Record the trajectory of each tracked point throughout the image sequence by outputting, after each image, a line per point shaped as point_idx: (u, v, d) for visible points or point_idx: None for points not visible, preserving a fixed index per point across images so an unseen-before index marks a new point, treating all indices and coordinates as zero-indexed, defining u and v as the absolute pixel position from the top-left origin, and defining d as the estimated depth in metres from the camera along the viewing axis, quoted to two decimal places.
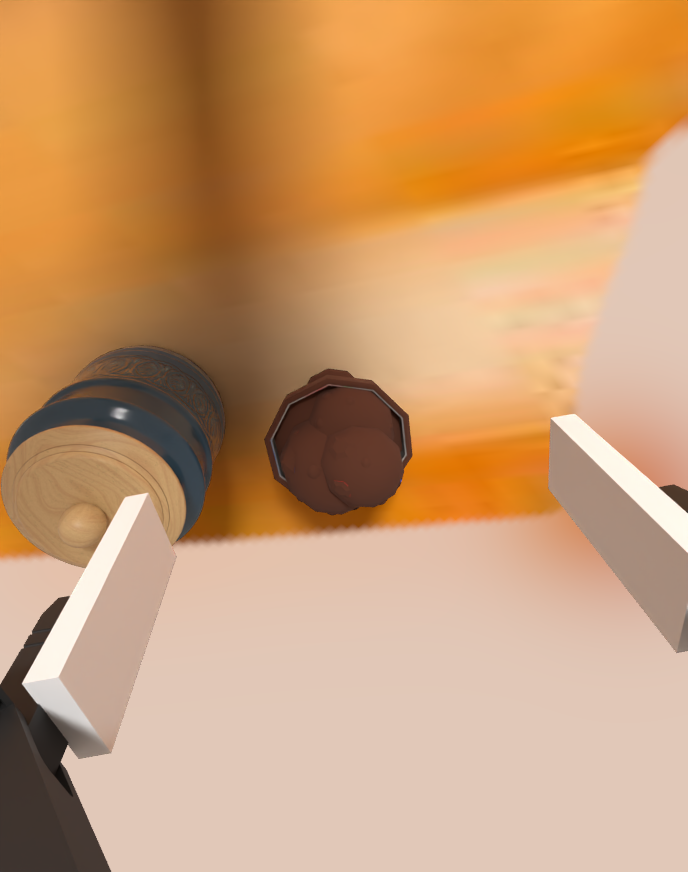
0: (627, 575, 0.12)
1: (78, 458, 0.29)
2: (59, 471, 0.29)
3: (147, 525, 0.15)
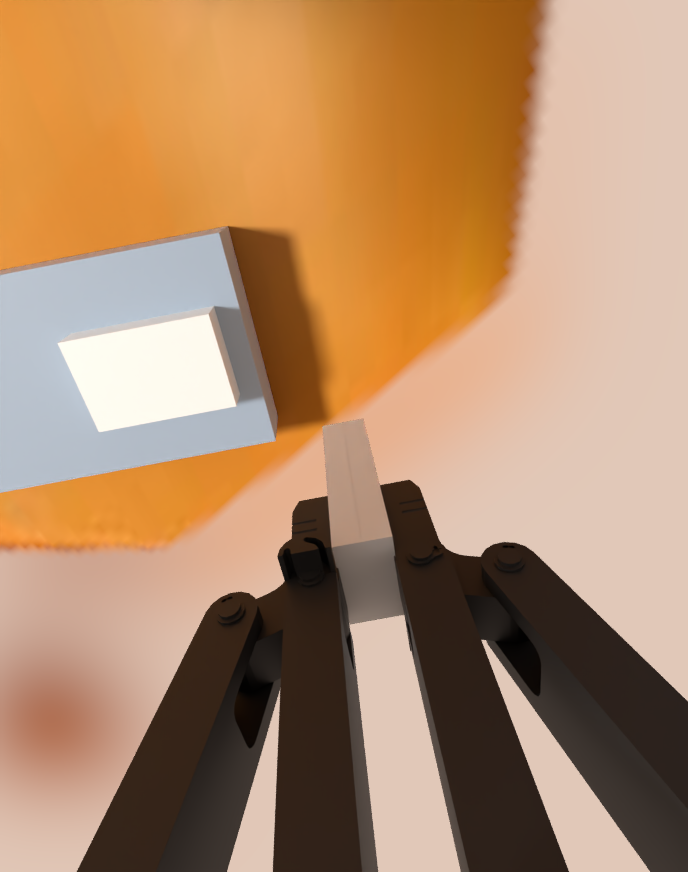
0: None
1: None
2: None
3: None
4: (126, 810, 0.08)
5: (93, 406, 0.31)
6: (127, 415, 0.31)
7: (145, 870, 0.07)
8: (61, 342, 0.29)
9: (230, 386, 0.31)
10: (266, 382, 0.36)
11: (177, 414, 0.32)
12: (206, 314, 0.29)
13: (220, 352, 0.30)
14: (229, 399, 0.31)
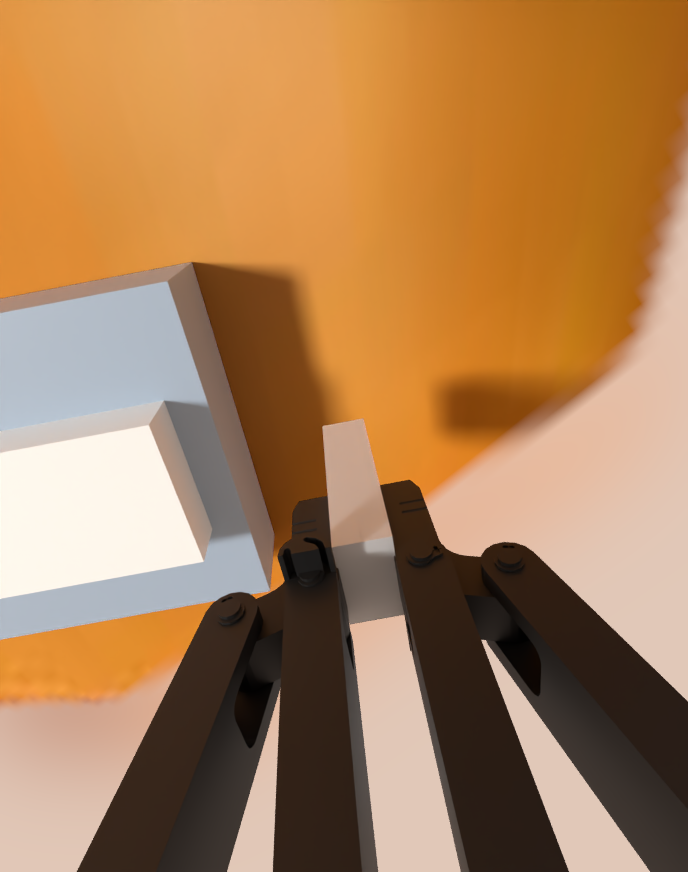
0: None
1: None
2: None
3: None
4: (126, 810, 0.08)
5: None
6: (20, 578, 0.19)
7: (145, 870, 0.07)
8: None
9: (192, 533, 0.18)
10: (256, 496, 0.23)
11: (105, 575, 0.19)
12: (145, 425, 0.16)
13: (173, 483, 0.17)
14: (191, 552, 0.19)
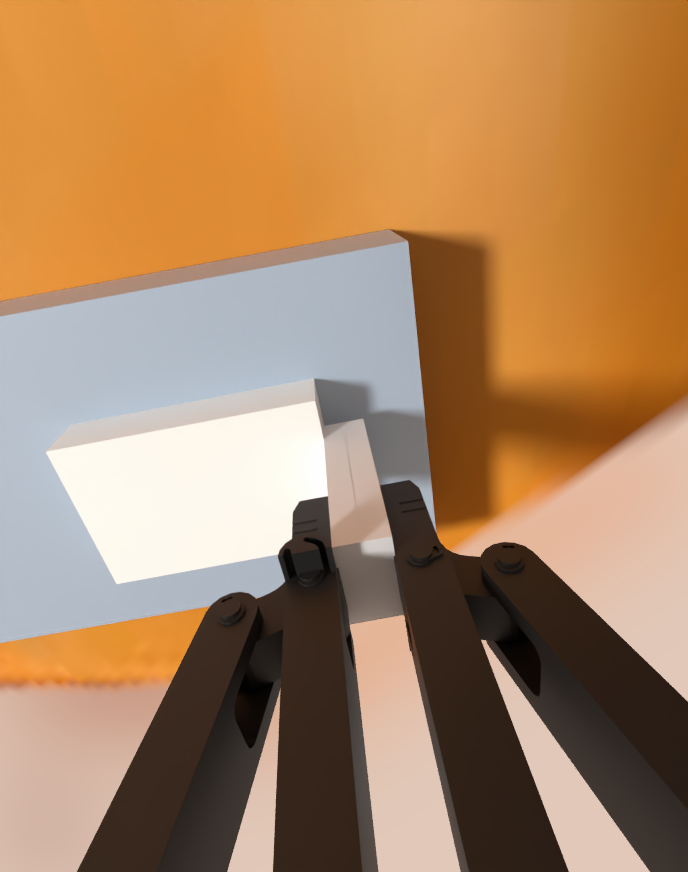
0: None
1: None
2: None
3: None
4: (126, 810, 0.08)
5: (108, 547, 0.18)
6: (164, 559, 0.19)
7: (145, 870, 0.07)
8: (52, 450, 0.16)
9: None
10: None
11: (247, 556, 0.19)
12: (311, 401, 0.16)
13: None
14: None
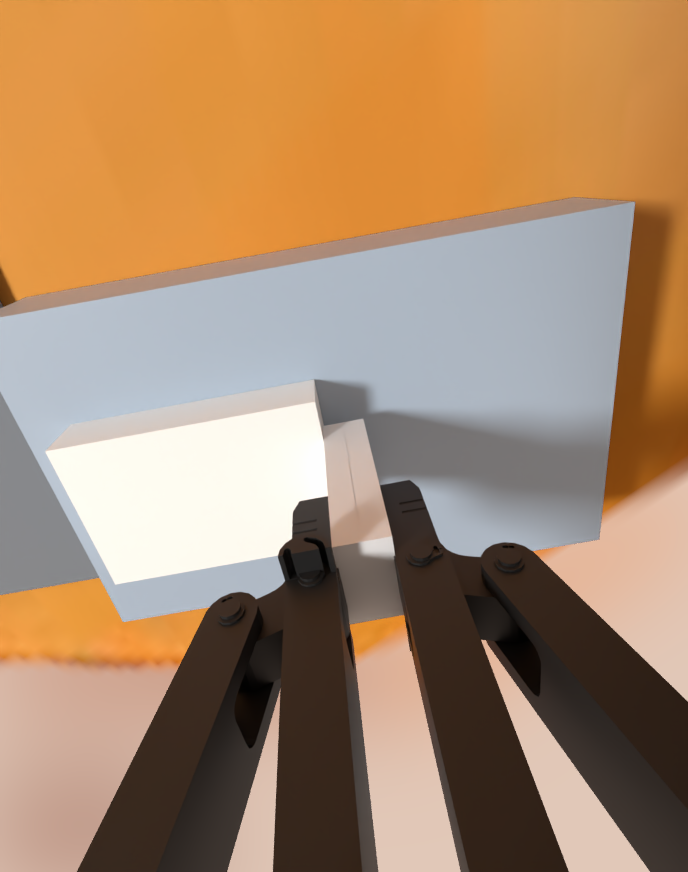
0: None
1: None
2: None
3: None
4: (126, 810, 0.08)
5: (107, 547, 0.18)
6: (162, 559, 0.19)
7: (145, 870, 0.07)
8: (52, 450, 0.16)
9: None
10: None
11: (246, 557, 0.19)
12: (310, 401, 0.16)
13: None
14: None
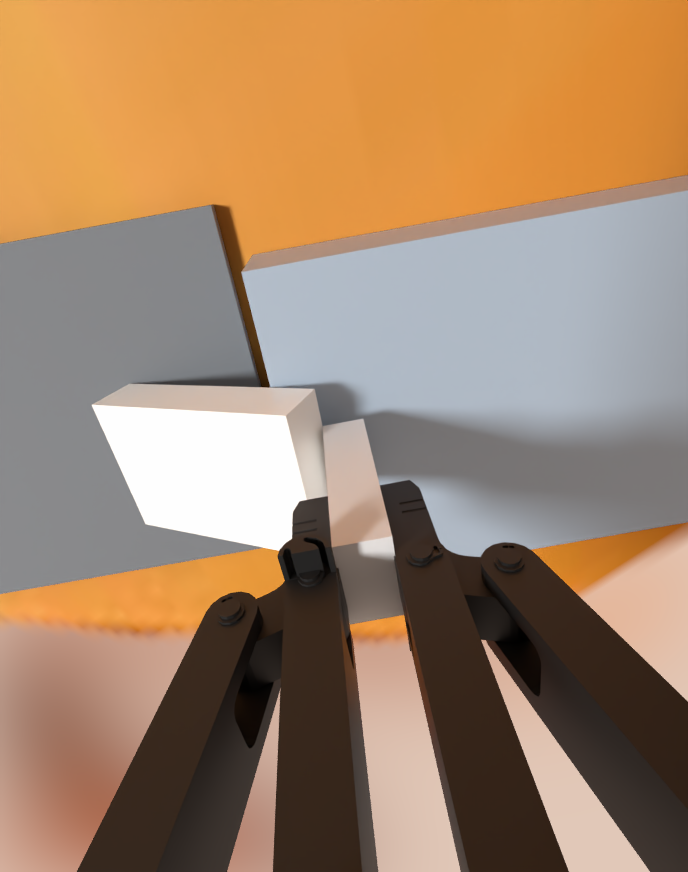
0: None
1: None
2: None
3: None
4: (126, 810, 0.08)
5: (137, 493, 0.21)
6: (175, 516, 0.21)
7: (145, 870, 0.07)
8: (96, 404, 0.19)
9: None
10: None
11: (237, 539, 0.20)
12: (283, 414, 0.16)
13: (303, 476, 0.17)
14: None
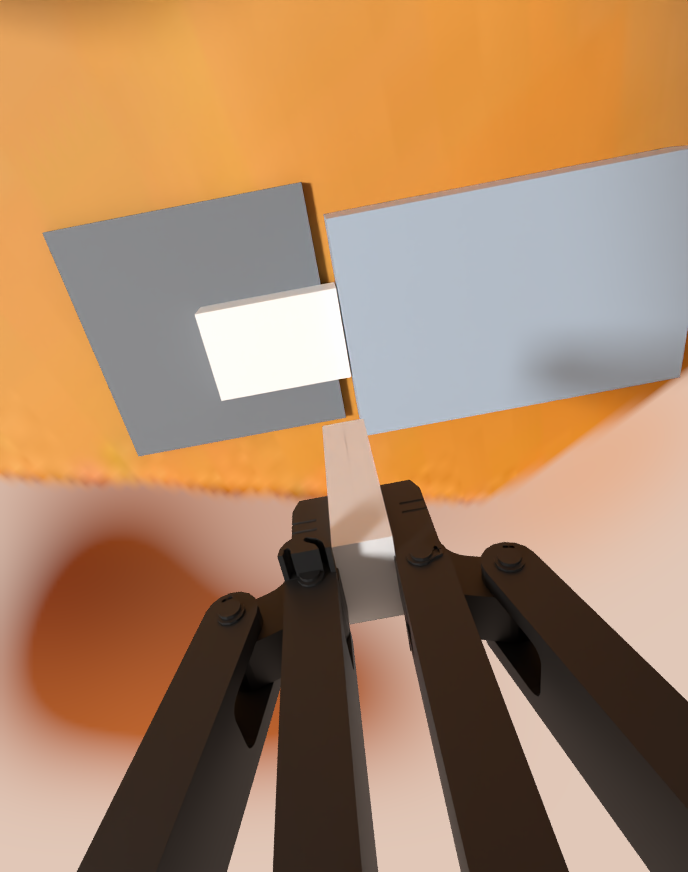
0: None
1: None
2: None
3: None
4: (126, 810, 0.08)
5: (219, 375, 0.33)
6: (249, 384, 0.33)
7: (145, 870, 0.07)
8: (198, 314, 0.31)
9: (347, 357, 0.33)
10: None
11: (295, 384, 0.34)
12: (333, 288, 0.31)
13: None
14: (345, 370, 0.33)
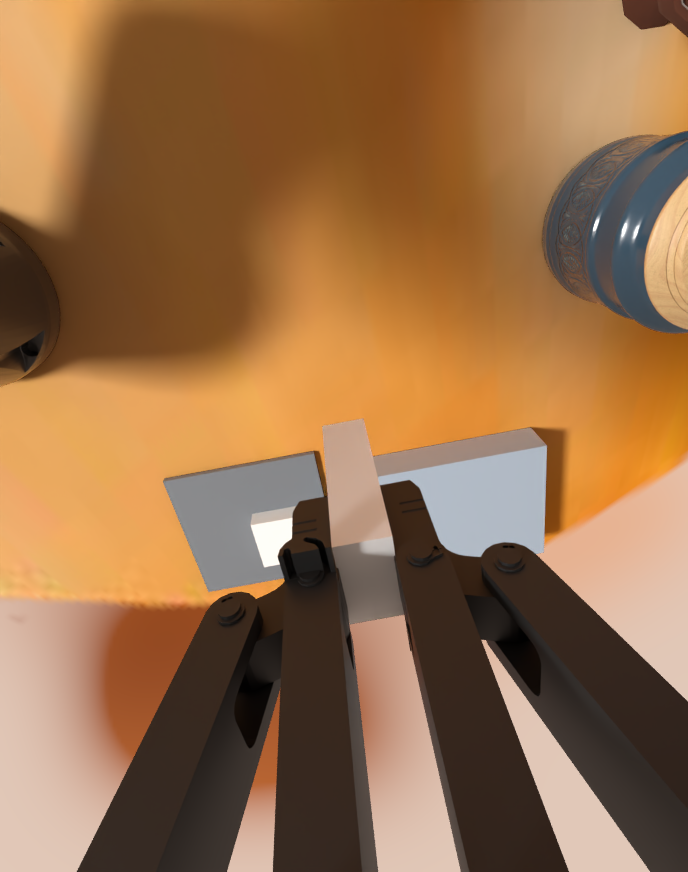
0: None
1: None
2: None
3: None
4: (126, 810, 0.08)
5: (263, 554, 0.54)
6: None
7: (145, 870, 0.07)
8: (252, 524, 0.52)
9: None
10: None
11: None
12: None
13: None
14: None
